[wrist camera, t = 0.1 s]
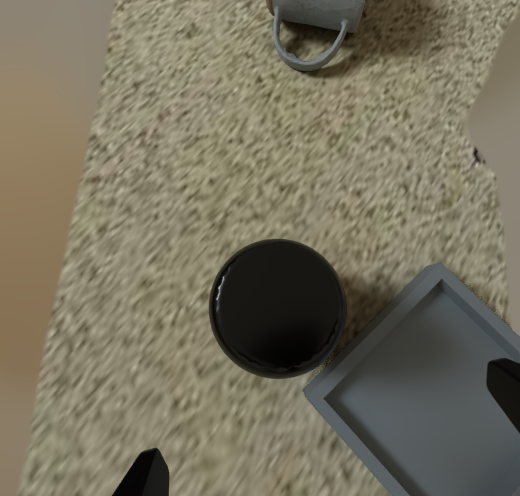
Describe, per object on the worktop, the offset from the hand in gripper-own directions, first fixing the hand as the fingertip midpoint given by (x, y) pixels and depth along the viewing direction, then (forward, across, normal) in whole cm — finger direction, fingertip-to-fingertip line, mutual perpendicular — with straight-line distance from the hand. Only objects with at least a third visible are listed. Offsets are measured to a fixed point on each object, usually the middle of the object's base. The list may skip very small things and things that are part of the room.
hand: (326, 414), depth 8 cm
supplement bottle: (+14, 0, +6) cm, 15 cm away
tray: (+9, -9, +13) cm, 18 cm away
